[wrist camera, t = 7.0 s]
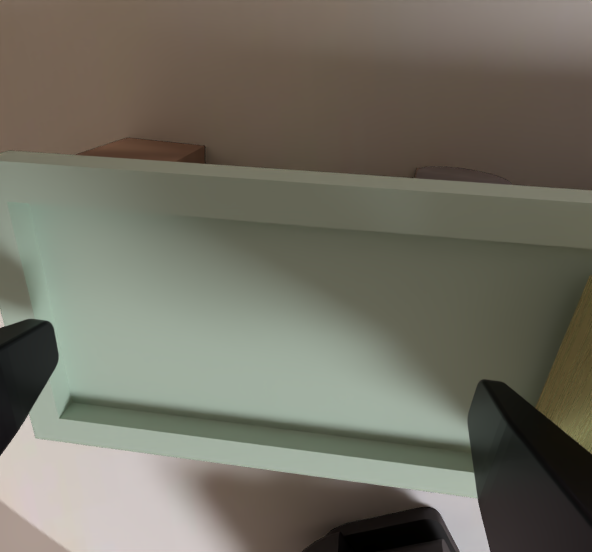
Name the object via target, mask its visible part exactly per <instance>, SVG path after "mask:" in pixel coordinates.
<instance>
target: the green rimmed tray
mask: <svg viewBox="0 0 592 552" xmlns="http://www.w3.org/2000/svg"><path fill="white" fill-rule="evenodd" d="M590 275H592V190H579V189H564V188H549V187H535V186H520V185H506V184H491V183H477V182H462V181H447V180H433V179H418V178H404V177H389V176H374V175H360V174H345V173H331V172H316V171H302V170H287V169H272V168H258V167H243V166H229V165H214V164H200V163H185V162H170V161H156V160H141V159H127V158H112V157H98V156H83V155H68V154H54V153H39V152H25V151H6V152H2V153H0V311H1V314H2V318H3V321H4V325H5V326H8V325H11V324H14V323H17V322H20V321H23V320H26V319H39V320H46V321H49V322H51V323H52V325H53V327H54V331H55V336H56V342H57V347H58V353H59V360H58V364H57V366H56V368H55V370H54V372H53V373H52V375H51V377H50V379H49V380H48V382H47V384H46V385H45V387H44V389H43V390H42V392H41V394H40V395H39V397H38V399H37V401H36V402H35V404H34V406H33V407H32V409H31V411H30V412H29V416H30V419H31V423H32V427H33V430H34V434H35V437H36V438H37V439H44V440H51V441H59V442H66V443H73V444H81V445H88V446H96V447H103V448H110V449H118V450H125V451H132V452H140V453H147V454H154V455H162V456H169V457H176V458H184V459H191V460H198V461H206V462H213V463H221V464H228V465H235V466H243V467H250V468H257V469H265V470H272V471H279V472H287V473H294V474H301V475H309V476H316V477H323V478H331V479H338V480H346V481H353V482H360V483H368V484H375V485H382V486H390V487H397V488H404V489H412V490H419V491H426V492H434V493H441V494H448V495H456V496H463V497H470V498H478V497H477V491H476V484H475V476H474V469H473V462H472V454H471V447H470V439H469V432H468V424H467V419H468V412H469V409H470V406H471V402H472V399H473V396H474V393H475V390H476V387H477V384H478V383H479V381H480V380H482V379H487V380H495V381H501V382H504V383H505V384H507V385H508V386H509V387H510V388H512V389H513V390H514V391H515V392H517V393H518V394H519V395H520V396H521V397H523V398H524V399H525V400H526V401H528V402H529V403H530V404H531V405H532V406H534V407H536V404H537V402H538V399H539V397H540V395H541V392H542V390H543V387H544V385H545V382H546V380H547V378H548V375H549V373H550V370H551V368H552V365H553V363H554V361H555V358H556V356H557V353H558V351H559V348H560V346H561V344H562V341H563V339H564V336H565V334H566V331H567V329H568V327H569V324H570V322H571V319H572V317H573V314H574V312H575V310H576V307H577V305H578V302H579V300H580V297H581V295H582V293H583V290H584V288H585V285H586V283H587V280H588V278H589V276H590Z"/></svg>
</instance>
